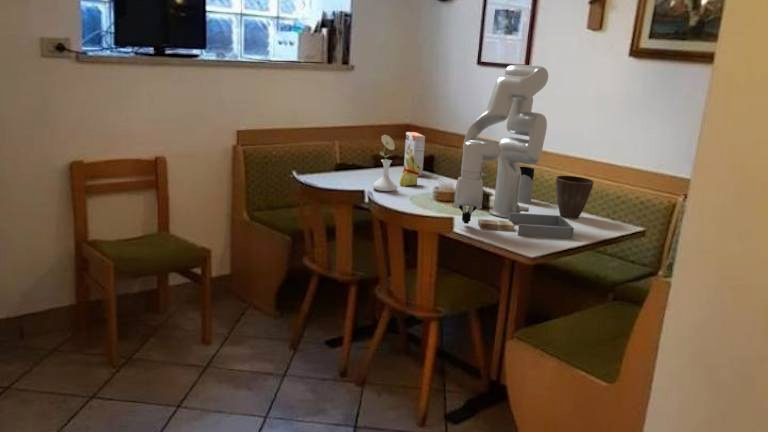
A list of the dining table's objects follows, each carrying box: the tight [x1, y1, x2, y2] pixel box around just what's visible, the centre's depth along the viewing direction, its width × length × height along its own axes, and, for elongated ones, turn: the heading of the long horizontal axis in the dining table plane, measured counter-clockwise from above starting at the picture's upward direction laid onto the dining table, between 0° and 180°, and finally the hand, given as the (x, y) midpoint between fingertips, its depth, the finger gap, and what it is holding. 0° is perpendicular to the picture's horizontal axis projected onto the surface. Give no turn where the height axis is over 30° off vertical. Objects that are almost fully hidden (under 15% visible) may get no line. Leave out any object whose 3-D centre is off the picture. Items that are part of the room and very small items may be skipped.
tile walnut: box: [477, 218, 497, 231], centre depth 251 cm, size 6×6×2 cm
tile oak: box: [494, 220, 515, 232], centre depth 251 cm, size 6×6×2 cm
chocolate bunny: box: [399, 154, 420, 187], centre depth 316 cm, size 7×11×15 cm, turn 124°
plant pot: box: [555, 175, 594, 220], centre depth 274 cm, size 15×15×16 cm
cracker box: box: [403, 131, 426, 177], centre depth 344 cm, size 14×6×21 cm, turn 17°
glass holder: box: [518, 166, 535, 204], centre depth 301 cm, size 9×14×15 cm, turn 163°
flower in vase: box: [372, 134, 398, 192], centre depth 300 cm, size 13×11×25 cm
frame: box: [508, 212, 575, 239], centre depth 251 cm, size 20×18×4 cm
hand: (465, 222), depth 250 cm, fingers closed
